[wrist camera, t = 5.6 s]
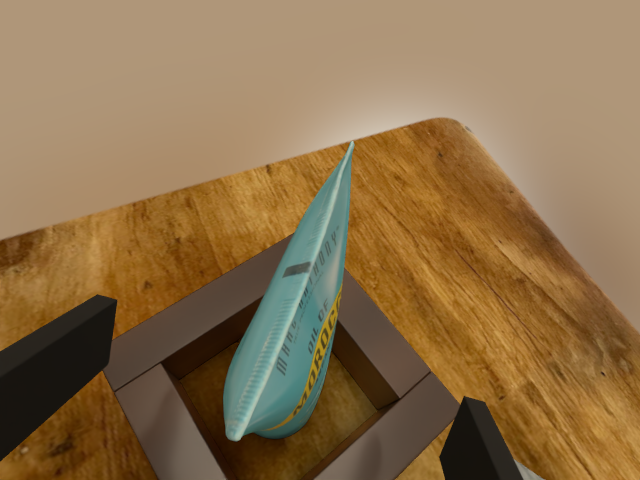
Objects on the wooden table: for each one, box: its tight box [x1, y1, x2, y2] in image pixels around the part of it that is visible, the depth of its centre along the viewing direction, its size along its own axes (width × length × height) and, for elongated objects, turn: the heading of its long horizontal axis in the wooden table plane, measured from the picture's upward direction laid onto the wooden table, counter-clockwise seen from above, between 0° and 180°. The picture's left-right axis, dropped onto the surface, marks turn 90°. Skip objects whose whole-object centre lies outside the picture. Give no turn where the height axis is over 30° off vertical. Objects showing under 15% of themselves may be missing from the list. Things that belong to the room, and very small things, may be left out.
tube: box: [223, 141, 354, 442], centre depth 17 cm, size 7×5×19 cm, turn 167°
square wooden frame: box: [102, 233, 460, 480], centre depth 23 cm, size 14×14×5 cm
